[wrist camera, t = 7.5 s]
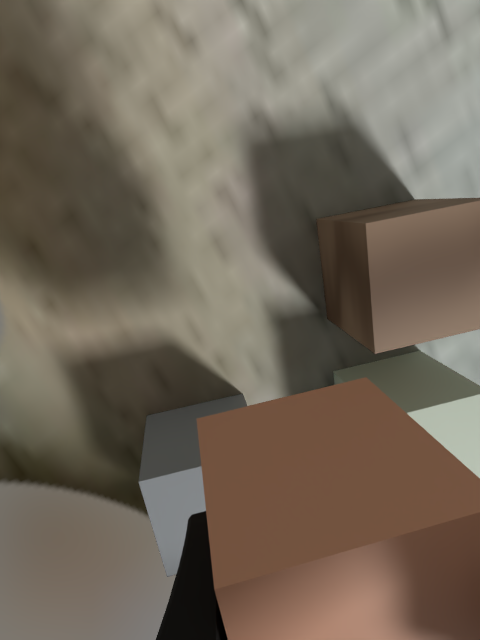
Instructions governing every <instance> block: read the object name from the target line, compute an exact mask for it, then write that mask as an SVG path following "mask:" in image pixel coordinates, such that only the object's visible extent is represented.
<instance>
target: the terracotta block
mask: <svg viewBox="0 0 480 640" xmlns="http://www.w3.org/2000/svg"><path fill="white" fill-rule="evenodd" d="M197 429H198V438H199V448H200V457H201V467H202V476H203V486H204V495H205V505H206V514H207V524H208V533H209V543H210V552H211V562H212V572H213V581H214V590H215V594H216V597H217V601H218V605H219V609H220V612H221V616H222V620H223V623H224V627H225V631H226V635H227V638H228V640H480V478H479V477H478V476H476V475H475V474H474V473H473V472H472V471H471V470H470V469H469V468H467V467H466V466H465V465H464V464H463V463H462V462H461V461H460V460H458V459H457V458H456V457H455V456H454V455H453V454H452V453H451V452H450V451H448V450H447V449H446V448H445V447H444V446H443V445H442V444H441V443H439V442H438V441H437V440H436V439H435V438H434V437H433V436H432V435H430V434H429V433H428V432H427V431H426V430H425V429H424V428H423V427H421V426H420V425H419V424H418V423H417V422H416V421H415V420H414V419H412V418H411V417H410V416H409V415H408V414H407V413H406V412H405V411H404V410H402V409H401V408H400V407H399V406H398V405H397V404H396V403H395V402H393V401H392V400H391V399H390V398H389V397H388V396H387V395H386V394H384V393H383V392H382V391H381V390H380V389H379V388H378V387H377V386H375V385H374V384H373V383H372V382H371V381H370V380H369V379H368V378H367V377H365V378H361V379H357V380H353V381H348V382H344V383H340V384H336V385H332V386H328V387H324V388H320V389H316V390H312V391H308V392H303V393H299V394H295V395H291V396H287V397H283V398H279V399H275V400H271V401H267V402H263V403H258V404H254V405H250V406H246V407H242V408H238V409H234V410H230V411H226V412H222V413H218V414H214V415H209V416H205V417H201V418H197Z"/></svg>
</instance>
